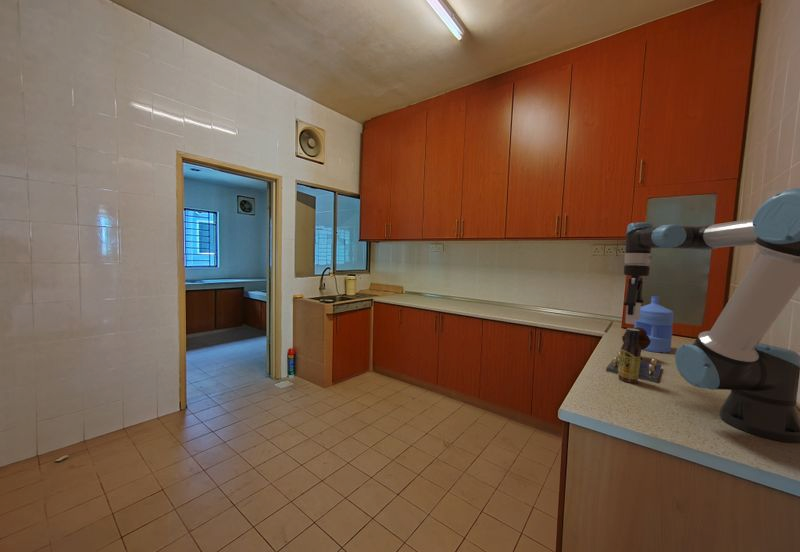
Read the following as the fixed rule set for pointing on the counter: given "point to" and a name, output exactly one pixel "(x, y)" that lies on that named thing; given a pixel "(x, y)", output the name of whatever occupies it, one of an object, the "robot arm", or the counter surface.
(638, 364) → the sauce bottle
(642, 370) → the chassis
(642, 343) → the ice cream bowl
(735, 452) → the counter surface
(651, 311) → the water jug
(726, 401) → the robot arm
